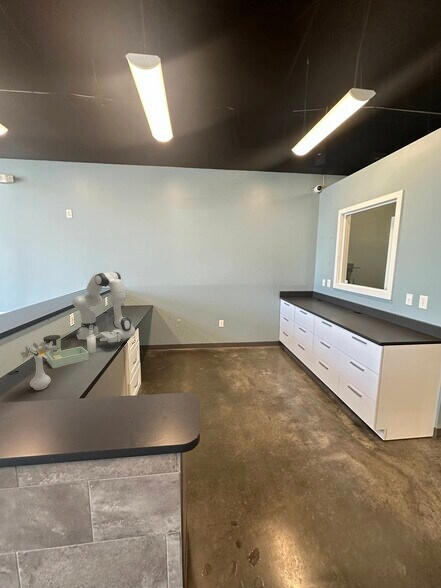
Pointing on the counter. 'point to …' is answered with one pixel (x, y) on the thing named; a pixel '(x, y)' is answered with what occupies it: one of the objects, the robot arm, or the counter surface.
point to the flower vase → (39, 363)
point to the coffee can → (54, 339)
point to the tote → (68, 357)
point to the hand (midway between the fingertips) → (97, 338)
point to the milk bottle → (91, 341)
